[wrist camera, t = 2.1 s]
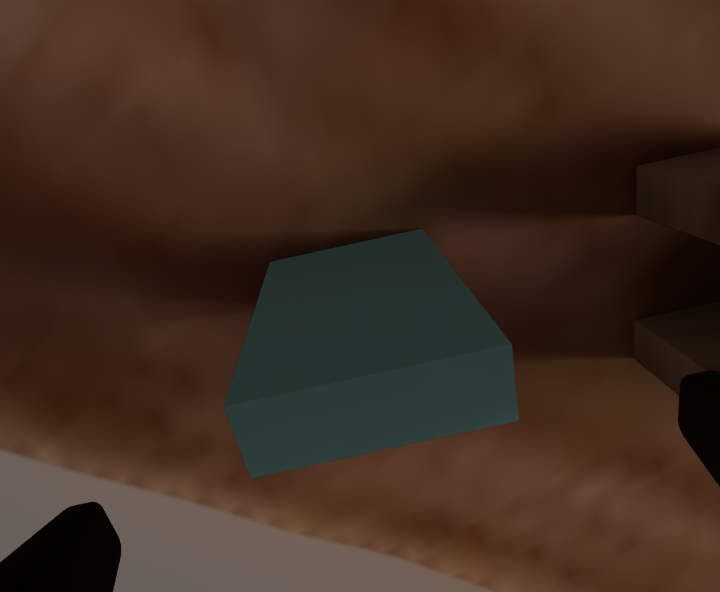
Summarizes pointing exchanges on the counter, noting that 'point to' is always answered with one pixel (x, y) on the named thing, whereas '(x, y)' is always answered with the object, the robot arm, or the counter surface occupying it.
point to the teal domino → (365, 356)
